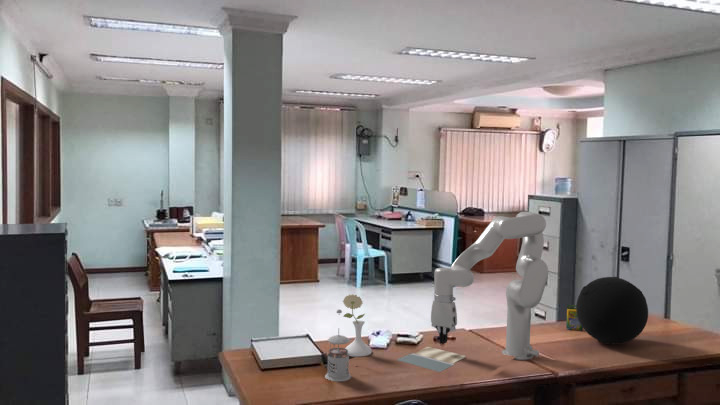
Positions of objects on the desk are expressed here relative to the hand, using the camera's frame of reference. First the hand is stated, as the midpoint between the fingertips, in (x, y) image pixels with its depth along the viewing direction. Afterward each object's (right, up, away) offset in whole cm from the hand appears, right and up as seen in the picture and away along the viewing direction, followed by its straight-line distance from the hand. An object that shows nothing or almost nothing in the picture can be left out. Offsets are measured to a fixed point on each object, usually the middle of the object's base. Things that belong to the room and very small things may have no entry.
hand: (443, 342), depth 234 cm
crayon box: (+71, -5, +46) cm, 85 cm away
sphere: (+79, -7, +25) cm, 83 cm away
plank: (-2, -6, -1) cm, 6 cm away
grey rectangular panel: (-9, -7, -9) cm, 14 cm away
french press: (-42, -7, -22) cm, 48 cm away
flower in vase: (-36, -6, +2) cm, 36 cm away
